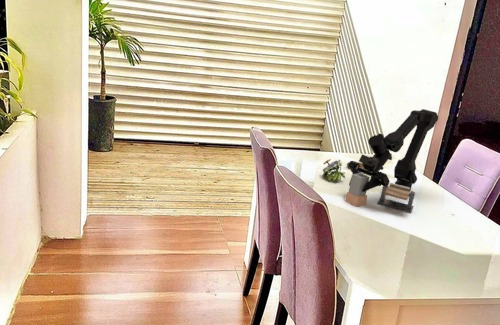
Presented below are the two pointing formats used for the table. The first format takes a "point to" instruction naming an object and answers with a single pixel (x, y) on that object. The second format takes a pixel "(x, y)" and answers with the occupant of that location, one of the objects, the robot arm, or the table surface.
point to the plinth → (355, 199)
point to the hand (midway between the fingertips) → (356, 188)
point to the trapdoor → (397, 191)
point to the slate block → (358, 184)
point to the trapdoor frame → (395, 204)
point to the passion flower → (334, 167)
